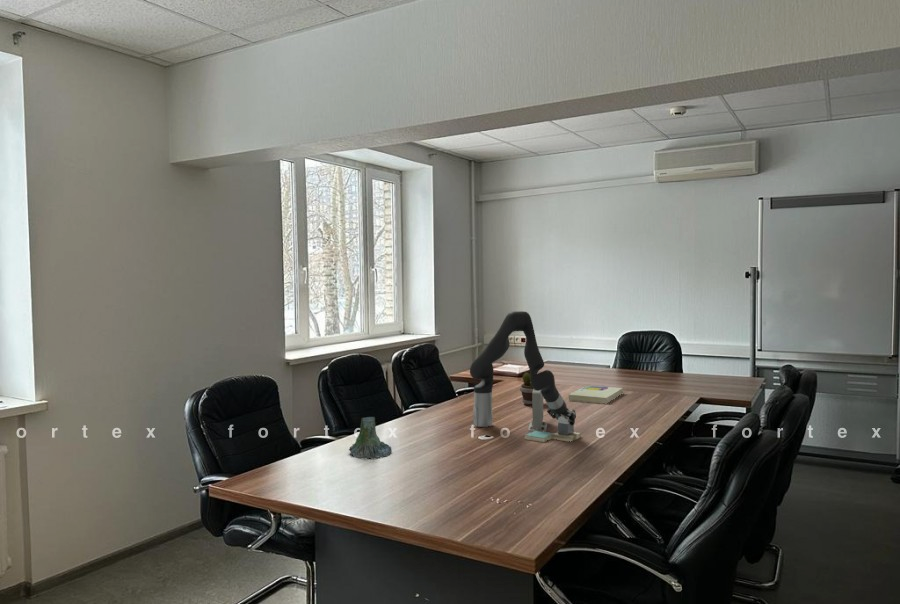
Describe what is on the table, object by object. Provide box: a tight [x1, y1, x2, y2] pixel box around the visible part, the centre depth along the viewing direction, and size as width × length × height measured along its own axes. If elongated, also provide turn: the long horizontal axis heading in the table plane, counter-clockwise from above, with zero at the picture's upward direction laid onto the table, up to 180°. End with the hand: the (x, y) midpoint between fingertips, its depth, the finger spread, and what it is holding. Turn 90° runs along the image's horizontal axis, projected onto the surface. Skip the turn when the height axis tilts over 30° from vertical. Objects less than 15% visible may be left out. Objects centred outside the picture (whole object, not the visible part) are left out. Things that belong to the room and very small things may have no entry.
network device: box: [527, 389, 548, 432], centre depth 320 cm, size 26×9×20 cm, turn 168°
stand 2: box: [550, 431, 582, 443], centre depth 298 cm, size 10×10×2 cm
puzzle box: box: [568, 385, 624, 405], centre depth 394 cm, size 36×5×24 cm
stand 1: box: [524, 431, 555, 443], centre depth 298 cm, size 10×10×2 cm
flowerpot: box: [519, 371, 533, 407], centre depth 376 cm, size 14×15×20 cm
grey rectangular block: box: [557, 408, 575, 436], centre depth 298 cm, size 6×5×11 cm
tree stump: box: [348, 416, 392, 460], centre depth 281 cm, size 18×20×18 cm
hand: (567, 422), depth 299 cm, fingers closed on grey rectangular block, 5 cm apart
